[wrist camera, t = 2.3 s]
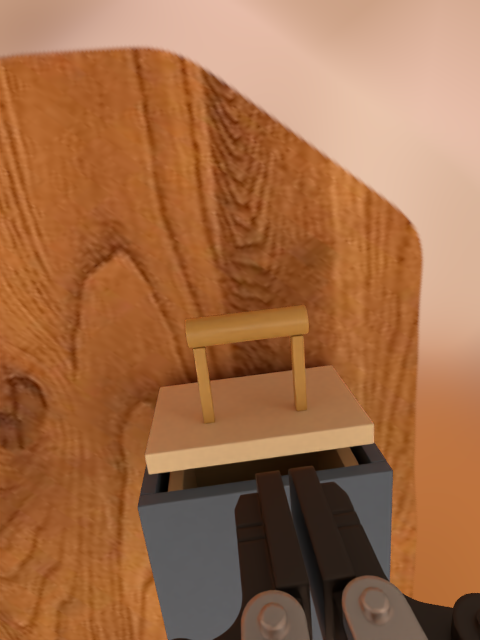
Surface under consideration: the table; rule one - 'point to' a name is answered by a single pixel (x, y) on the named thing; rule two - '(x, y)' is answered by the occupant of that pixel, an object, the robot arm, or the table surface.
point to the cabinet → (221, 541)
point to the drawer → (253, 410)
